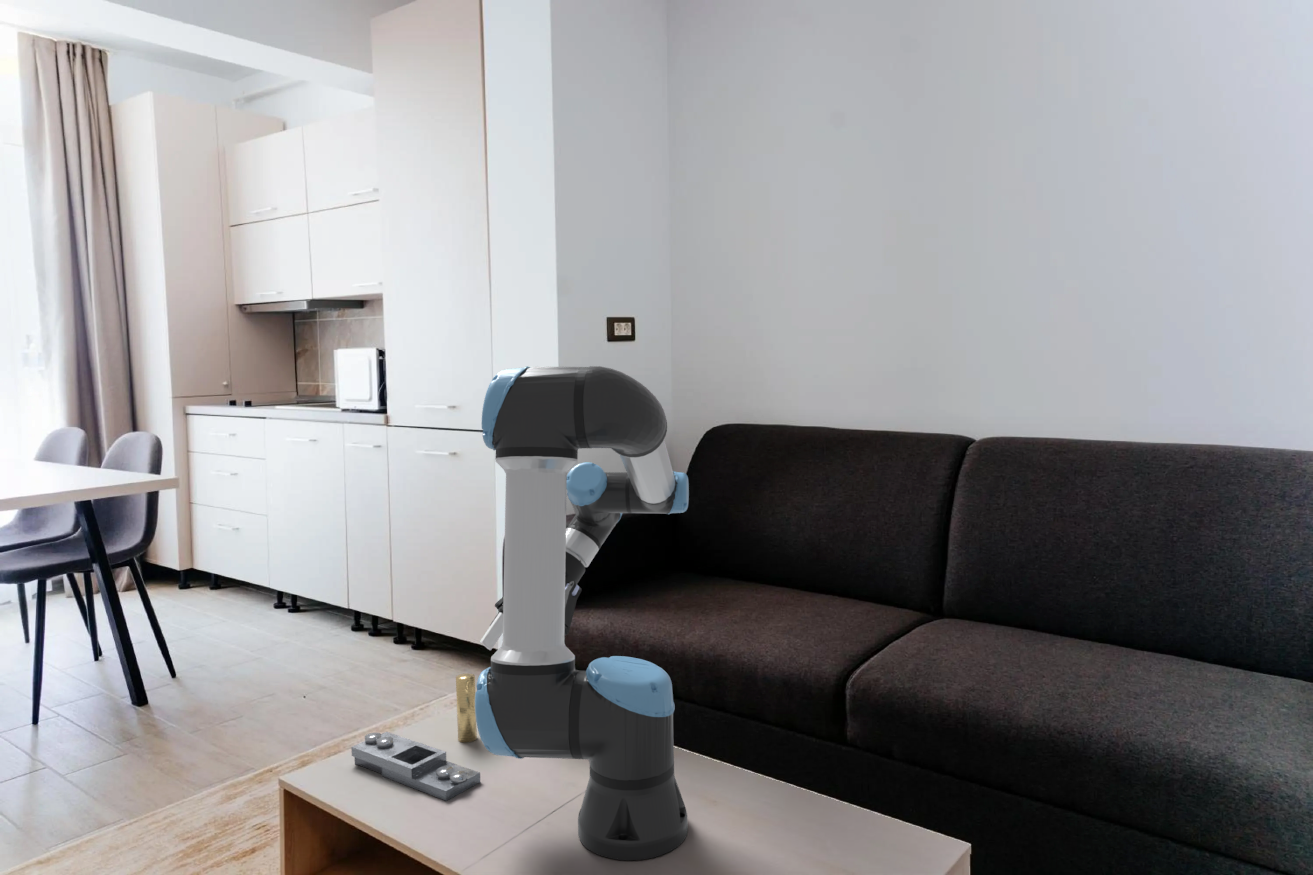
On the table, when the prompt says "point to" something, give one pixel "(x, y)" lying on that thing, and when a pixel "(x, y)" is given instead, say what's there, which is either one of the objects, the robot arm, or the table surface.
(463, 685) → the pin
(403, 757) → the riveted socket plate
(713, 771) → the table surface
